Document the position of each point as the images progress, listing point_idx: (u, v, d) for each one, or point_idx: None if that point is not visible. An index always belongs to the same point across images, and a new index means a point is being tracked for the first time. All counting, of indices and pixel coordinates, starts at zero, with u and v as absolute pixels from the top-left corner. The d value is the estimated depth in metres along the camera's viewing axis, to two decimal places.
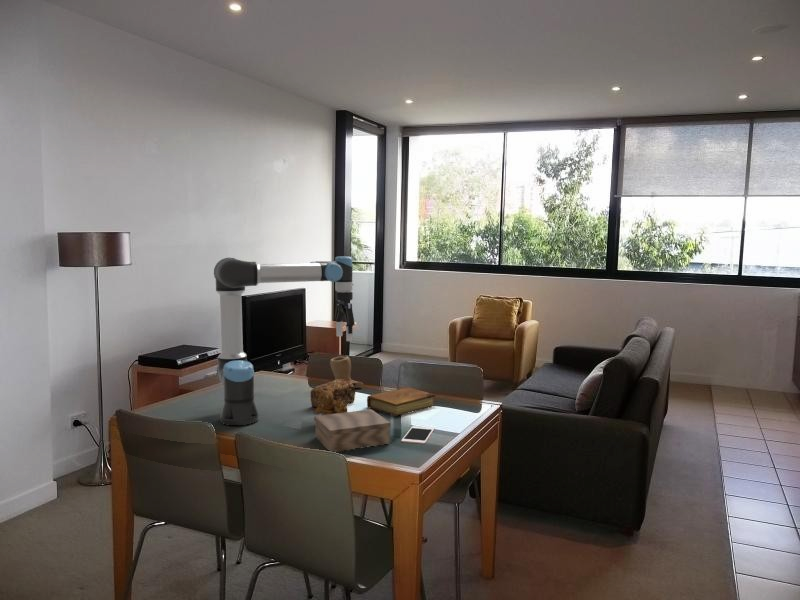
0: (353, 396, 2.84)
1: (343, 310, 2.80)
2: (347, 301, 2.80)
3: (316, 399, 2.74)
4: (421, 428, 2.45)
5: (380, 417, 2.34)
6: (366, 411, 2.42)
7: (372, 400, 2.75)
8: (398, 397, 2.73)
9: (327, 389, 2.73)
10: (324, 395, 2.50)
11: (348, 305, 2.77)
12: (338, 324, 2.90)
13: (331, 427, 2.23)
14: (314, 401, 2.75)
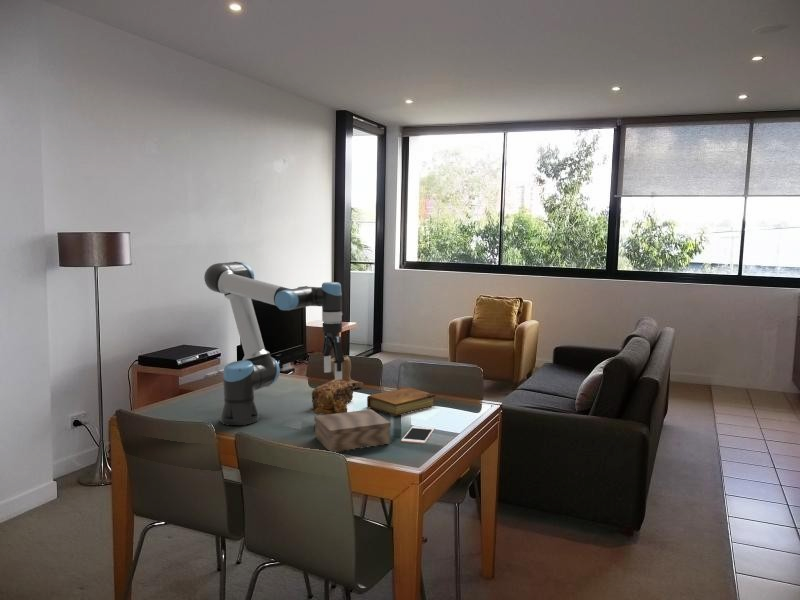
0: (351, 395, 2.85)
1: (331, 344, 2.45)
2: (336, 334, 2.45)
3: None
4: (421, 428, 2.45)
5: (380, 417, 2.34)
6: (366, 411, 2.42)
7: (372, 400, 2.75)
8: (398, 397, 2.73)
9: (330, 389, 2.73)
10: (324, 395, 2.50)
11: (337, 339, 2.42)
12: (326, 359, 2.55)
13: (331, 427, 2.23)
14: (317, 402, 2.73)
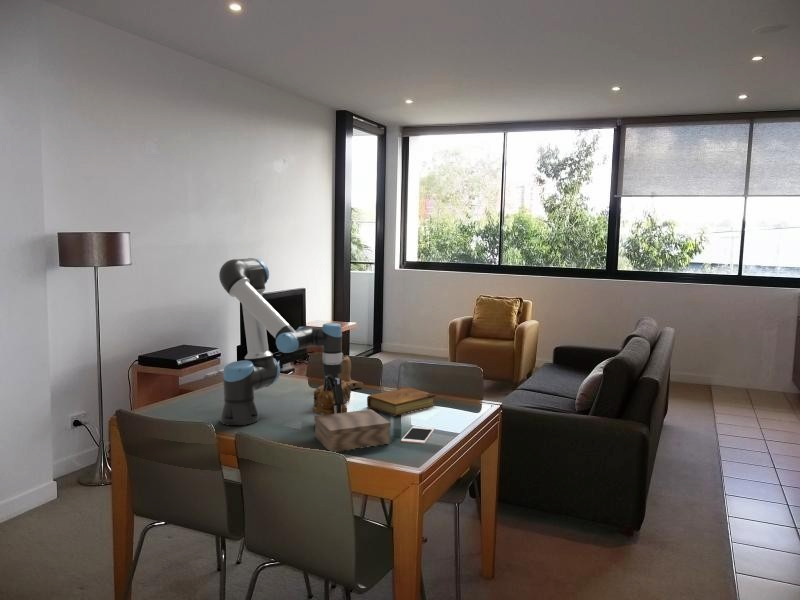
0: (349, 394, 2.87)
1: (331, 385, 2.47)
2: (336, 375, 2.47)
3: None
4: (421, 428, 2.45)
5: (380, 417, 2.34)
6: (366, 411, 2.42)
7: (372, 400, 2.75)
8: (398, 397, 2.73)
9: None
10: (323, 394, 2.50)
11: (337, 381, 2.44)
12: None
13: (331, 427, 2.23)
14: None
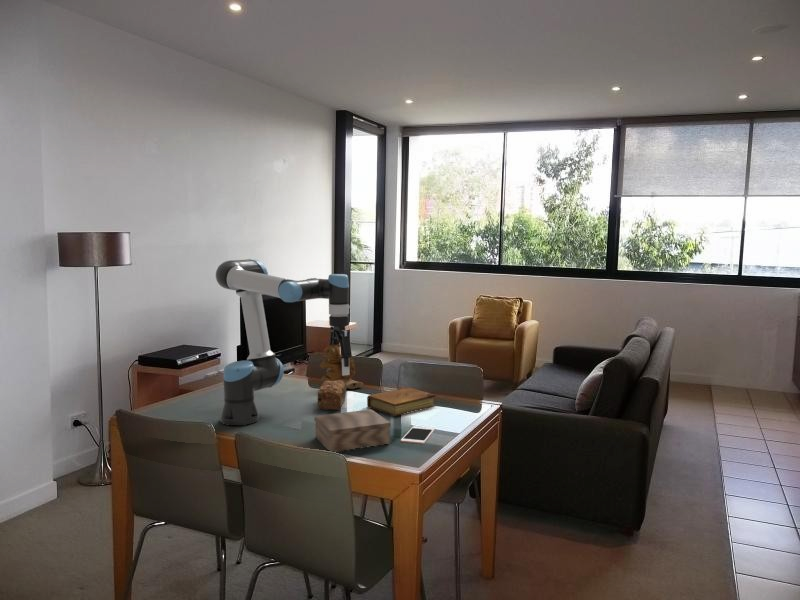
0: (345, 393, 2.88)
1: (338, 338, 2.37)
2: (343, 327, 2.37)
3: (326, 401, 2.71)
4: (422, 428, 2.45)
5: (380, 417, 2.34)
6: (366, 411, 2.42)
7: (372, 400, 2.76)
8: (398, 397, 2.73)
9: (337, 389, 2.73)
10: (330, 348, 2.41)
11: (344, 333, 2.34)
12: None
13: (331, 427, 2.23)
14: (324, 403, 2.71)
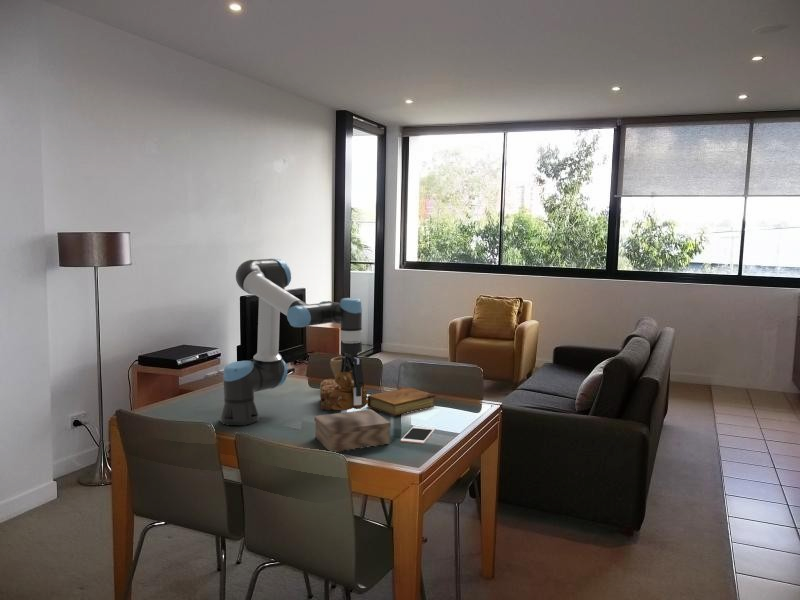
0: None
1: (350, 366, 2.26)
2: (355, 354, 2.25)
3: (330, 401, 2.71)
4: (422, 428, 2.45)
5: (380, 417, 2.34)
6: (366, 411, 2.42)
7: (372, 400, 2.76)
8: (398, 397, 2.73)
9: None
10: (341, 376, 2.29)
11: (357, 361, 2.23)
12: None
13: (331, 427, 2.23)
14: (327, 404, 2.71)
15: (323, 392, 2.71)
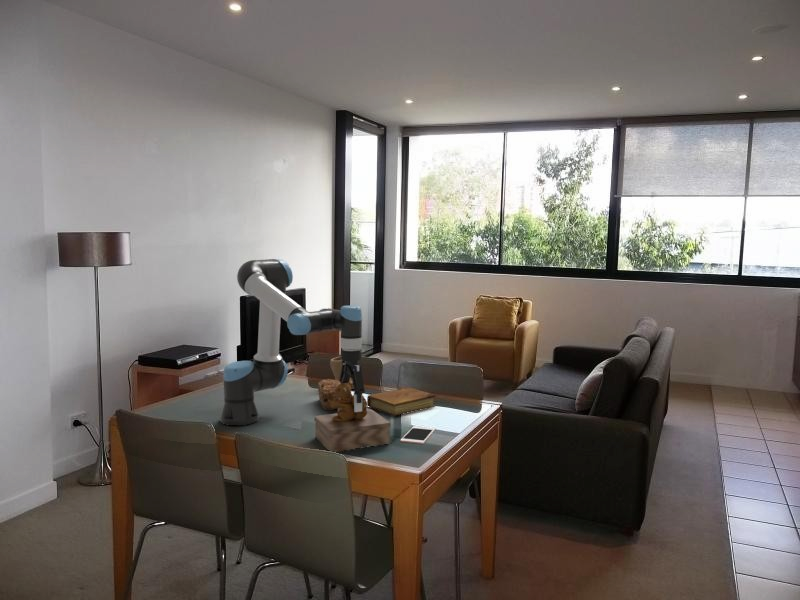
0: None
1: (350, 373, 2.26)
2: (355, 362, 2.26)
3: (333, 401, 2.71)
4: (422, 428, 2.45)
5: (380, 417, 2.34)
6: None
7: (372, 400, 2.76)
8: (398, 397, 2.73)
9: None
10: (341, 387, 2.29)
11: (357, 368, 2.23)
12: None
13: (331, 427, 2.23)
14: (330, 404, 2.71)
15: (326, 392, 2.70)
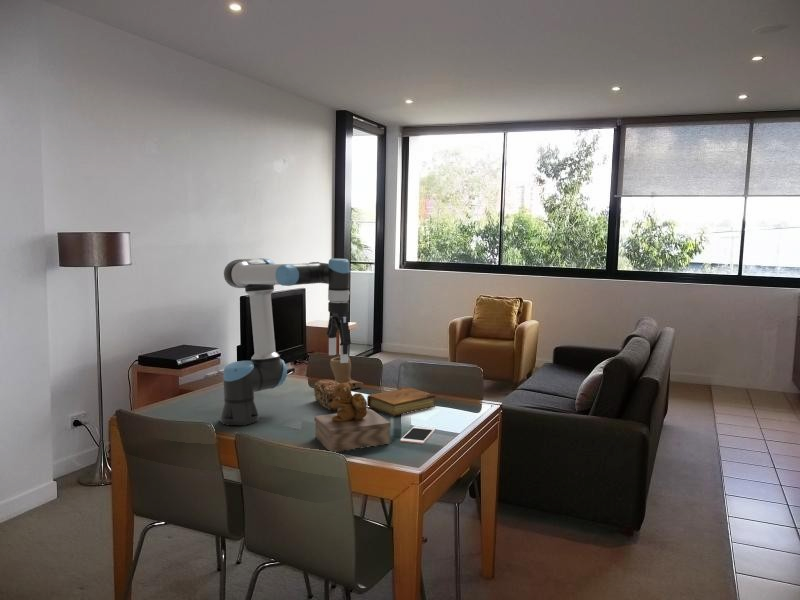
0: None
1: (337, 325, 2.29)
2: (342, 314, 2.29)
3: None
4: (422, 428, 2.45)
5: (380, 417, 2.34)
6: None
7: (372, 399, 2.76)
8: (397, 397, 2.73)
9: None
10: (341, 387, 2.29)
11: (343, 319, 2.26)
12: (331, 341, 2.39)
13: (331, 427, 2.23)
14: None
15: (330, 392, 2.70)
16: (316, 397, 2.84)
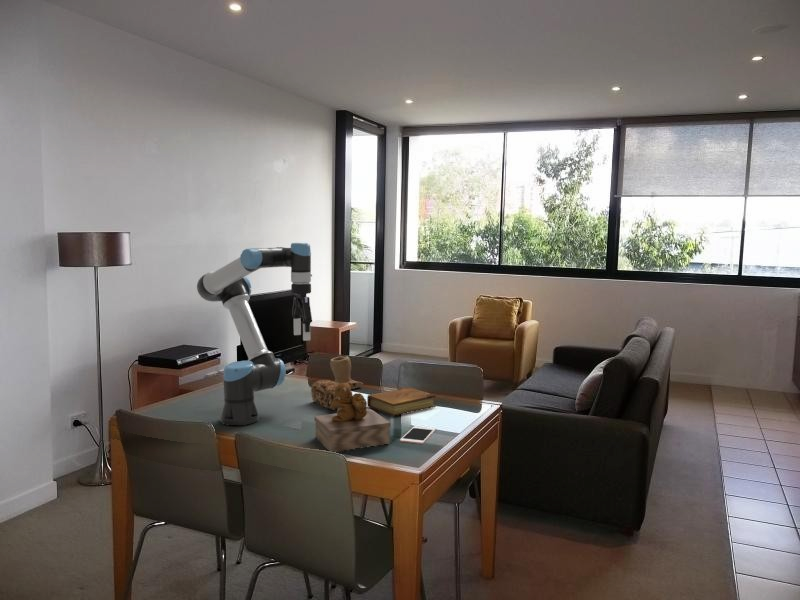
0: None
1: (299, 305, 2.42)
2: (304, 294, 2.43)
3: None
4: (422, 428, 2.45)
5: (380, 417, 2.34)
6: None
7: (372, 399, 2.76)
8: (397, 397, 2.73)
9: None
10: (341, 387, 2.29)
11: (305, 299, 2.40)
12: (296, 321, 2.53)
13: (331, 427, 2.23)
14: None
15: None
16: (314, 398, 2.82)
